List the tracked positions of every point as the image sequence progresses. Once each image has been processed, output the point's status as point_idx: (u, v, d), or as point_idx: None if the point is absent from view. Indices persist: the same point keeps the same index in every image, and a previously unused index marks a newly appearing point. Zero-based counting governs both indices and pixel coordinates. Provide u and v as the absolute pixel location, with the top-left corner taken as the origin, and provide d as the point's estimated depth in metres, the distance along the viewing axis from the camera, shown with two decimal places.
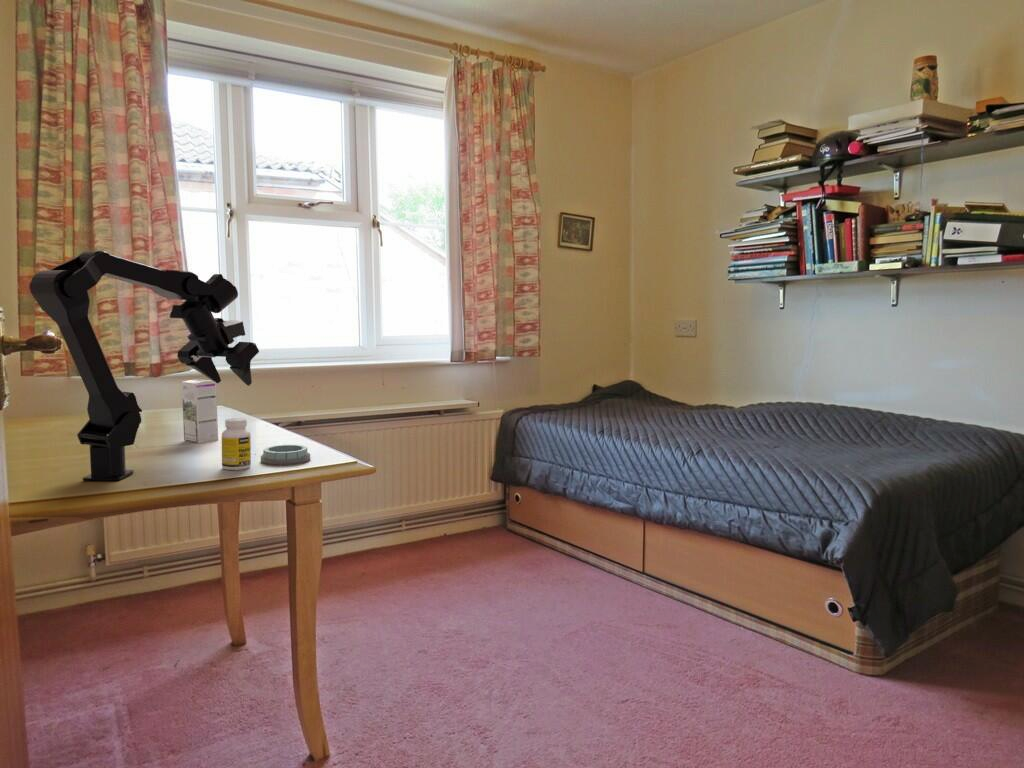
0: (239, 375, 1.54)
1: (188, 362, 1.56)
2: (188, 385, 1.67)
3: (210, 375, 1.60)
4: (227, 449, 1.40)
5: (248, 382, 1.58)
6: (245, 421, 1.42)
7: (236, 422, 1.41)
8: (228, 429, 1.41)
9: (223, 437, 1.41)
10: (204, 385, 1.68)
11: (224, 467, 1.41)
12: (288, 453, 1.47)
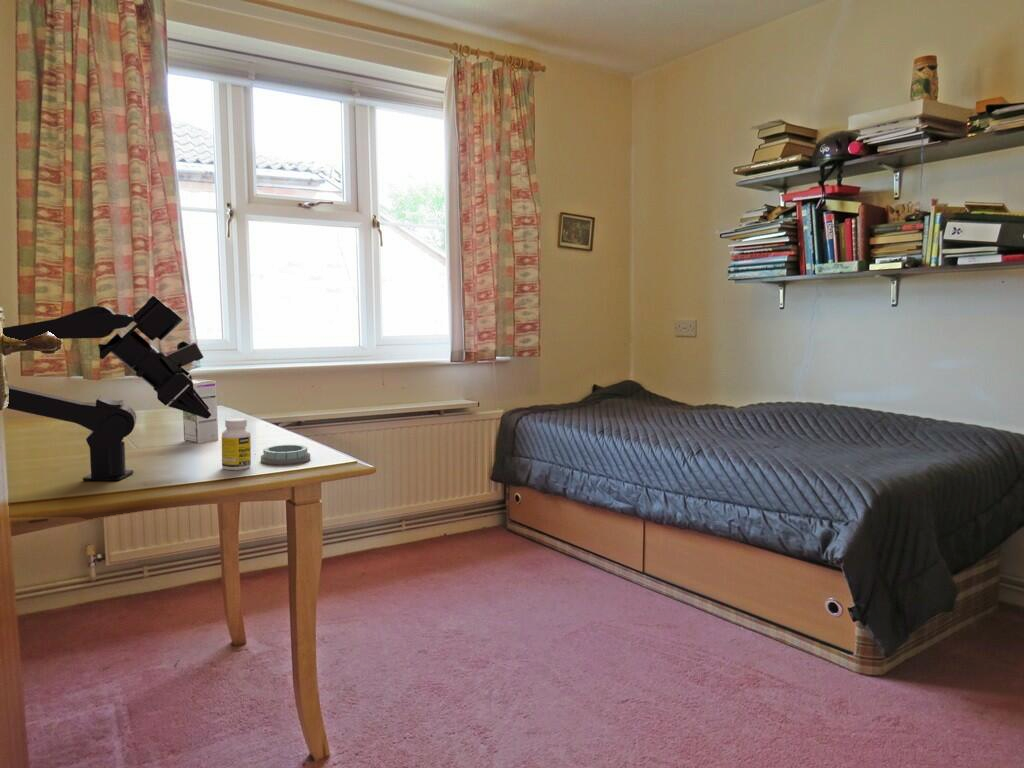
0: (184, 410, 1.33)
1: None
2: None
3: None
4: (227, 449, 1.40)
5: (204, 415, 1.35)
6: (245, 421, 1.42)
7: (236, 422, 1.41)
8: (228, 429, 1.41)
9: (223, 437, 1.41)
10: (204, 385, 1.67)
11: (224, 467, 1.41)
12: (288, 453, 1.47)
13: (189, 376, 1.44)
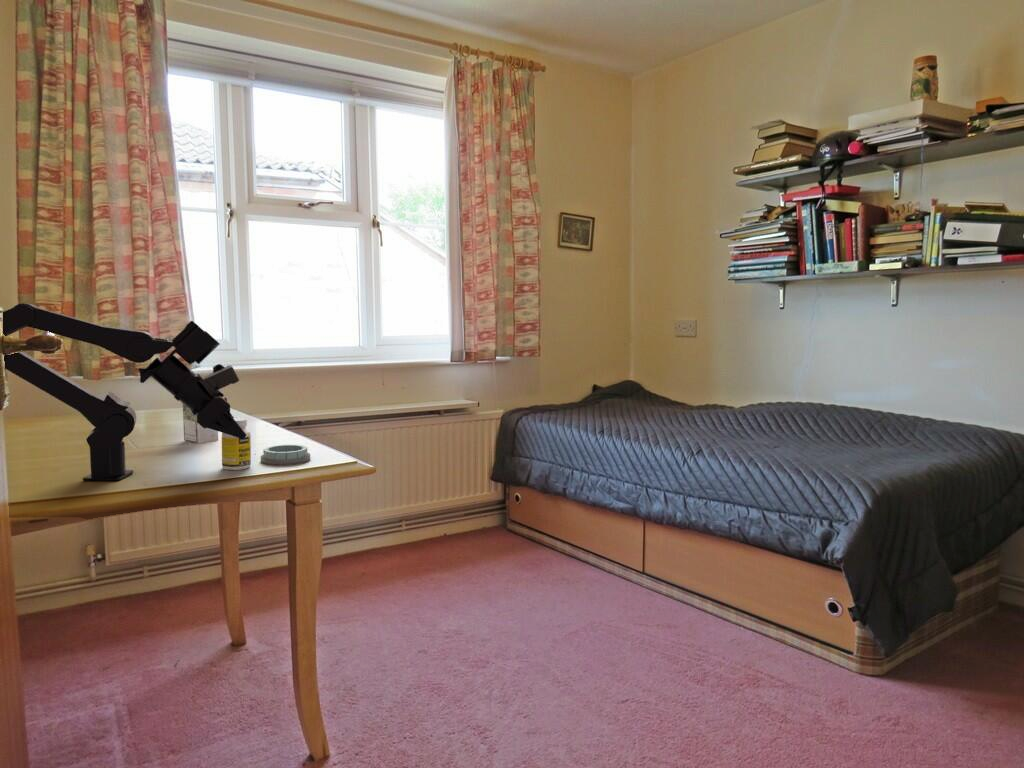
0: (221, 431, 1.38)
1: None
2: None
3: None
4: (227, 449, 1.40)
5: (239, 436, 1.40)
6: (245, 421, 1.42)
7: None
8: None
9: (223, 437, 1.41)
10: None
11: (224, 467, 1.41)
12: (288, 453, 1.47)
13: (224, 399, 1.46)
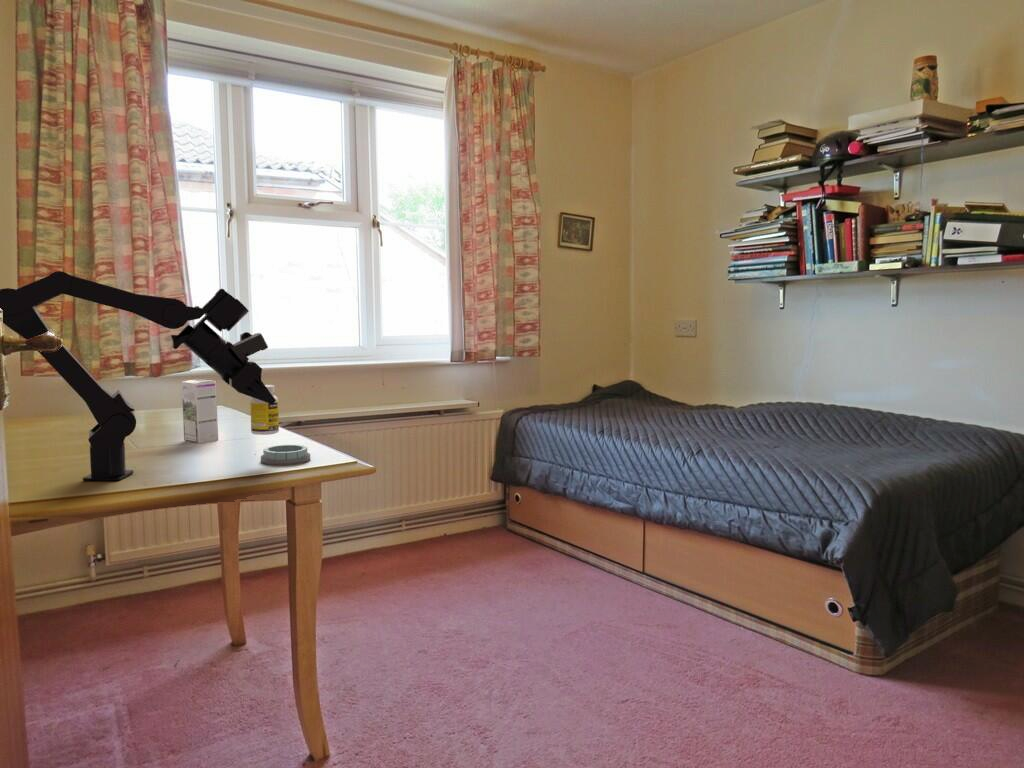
0: (252, 396, 1.41)
1: (227, 383, 1.49)
2: (188, 385, 1.67)
3: None
4: (257, 414, 1.44)
5: (269, 401, 1.44)
6: (273, 387, 1.46)
7: None
8: None
9: (253, 403, 1.44)
10: (204, 385, 1.67)
11: (254, 432, 1.45)
12: (288, 453, 1.47)
13: None
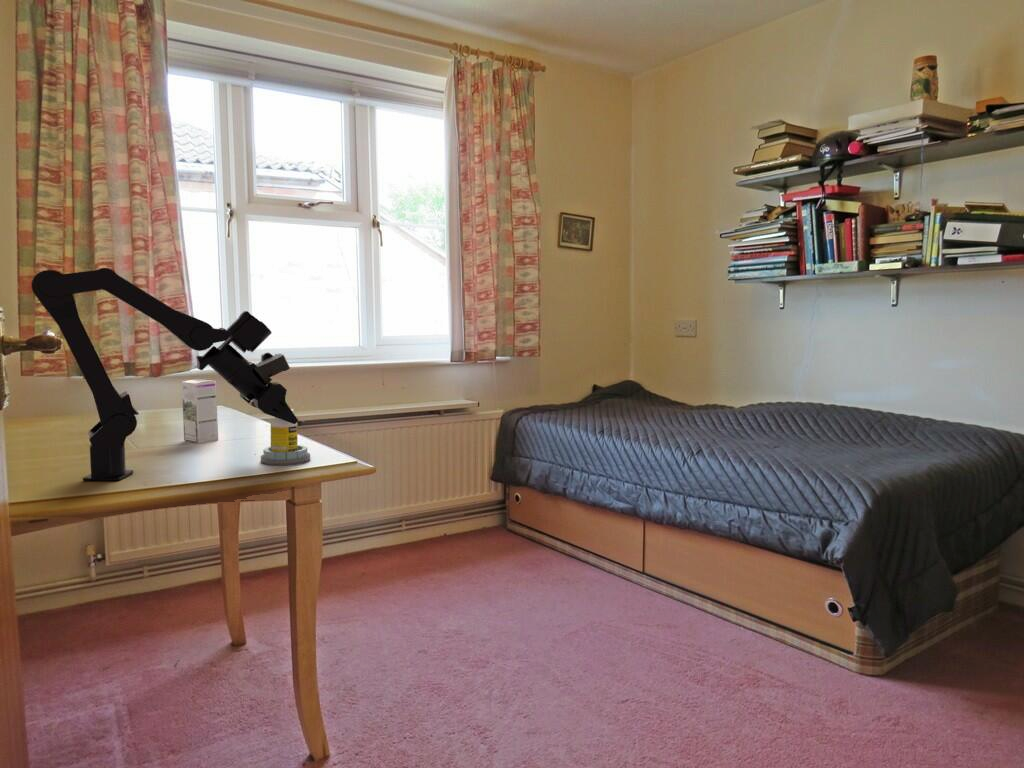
0: (276, 417, 1.44)
1: (247, 402, 1.52)
2: (188, 385, 1.67)
3: None
4: (277, 438, 1.48)
5: (292, 421, 1.47)
6: (293, 411, 1.50)
7: None
8: (277, 419, 1.48)
9: (273, 426, 1.48)
10: (204, 385, 1.67)
11: None
12: (288, 453, 1.47)
13: None
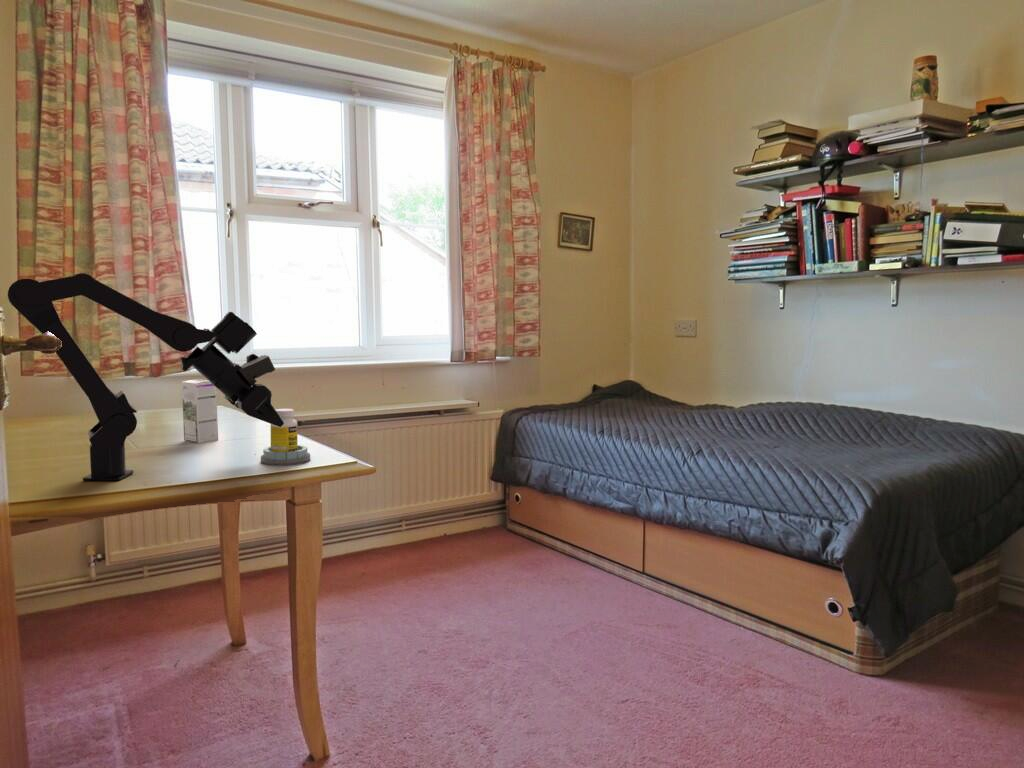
0: (261, 419, 1.42)
1: (232, 404, 1.50)
2: (188, 385, 1.67)
3: None
4: (277, 438, 1.48)
5: (278, 424, 1.44)
6: (293, 411, 1.50)
7: (286, 412, 1.48)
8: None
9: (273, 426, 1.48)
10: (204, 385, 1.68)
11: None
12: (288, 453, 1.47)
13: None
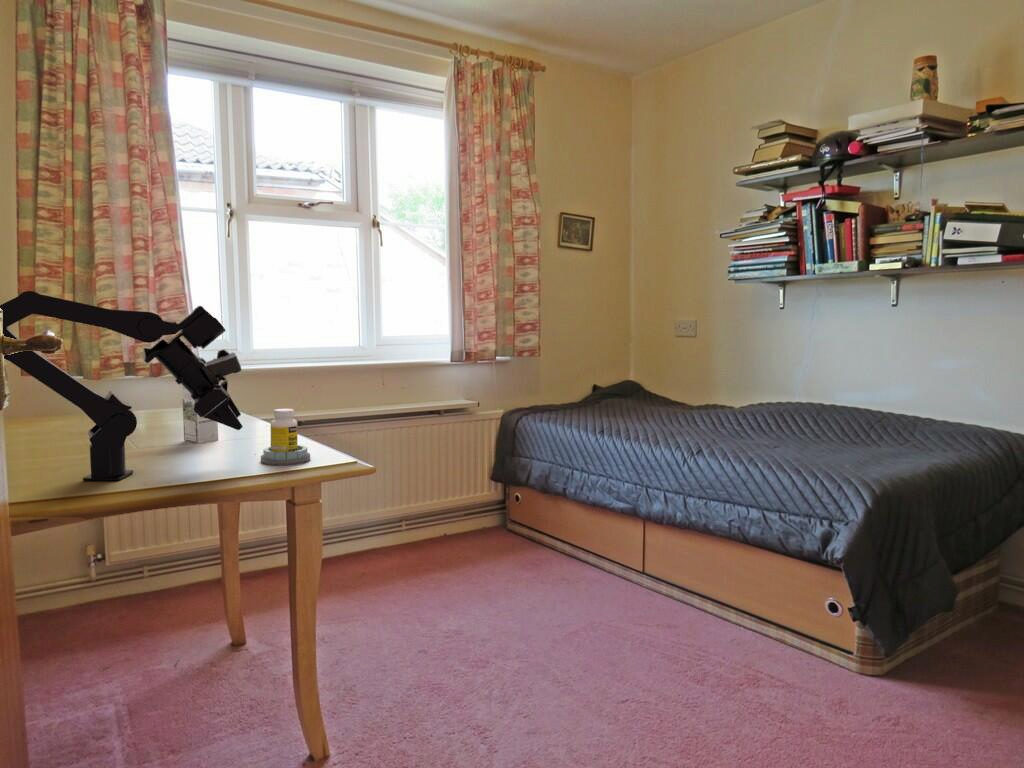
0: None
1: None
2: None
3: None
4: (277, 438, 1.48)
5: (235, 427, 1.40)
6: (293, 411, 1.50)
7: (286, 412, 1.48)
8: (277, 419, 1.48)
9: (273, 426, 1.48)
10: None
11: None
12: (288, 453, 1.47)
13: (225, 381, 1.49)
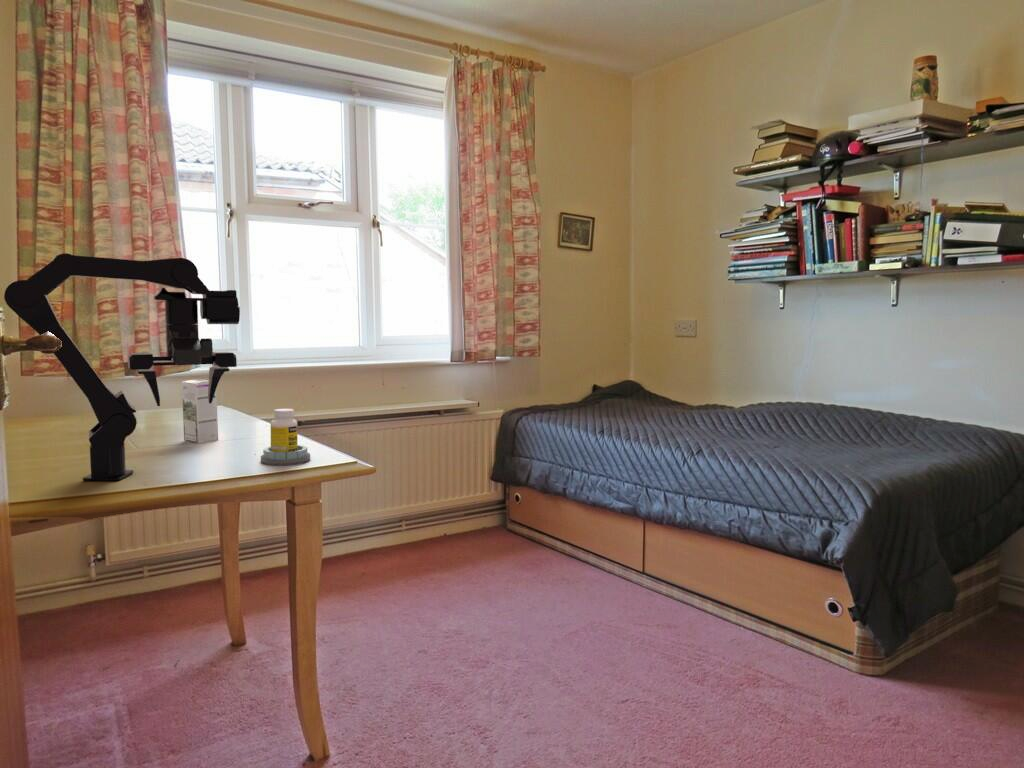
0: None
1: None
2: (188, 385, 1.67)
3: (208, 388, 1.42)
4: (277, 438, 1.48)
5: None
6: (293, 411, 1.50)
7: (286, 412, 1.48)
8: (277, 419, 1.48)
9: (273, 426, 1.48)
10: (204, 385, 1.68)
11: None
12: (288, 453, 1.47)
13: (221, 369, 1.40)
